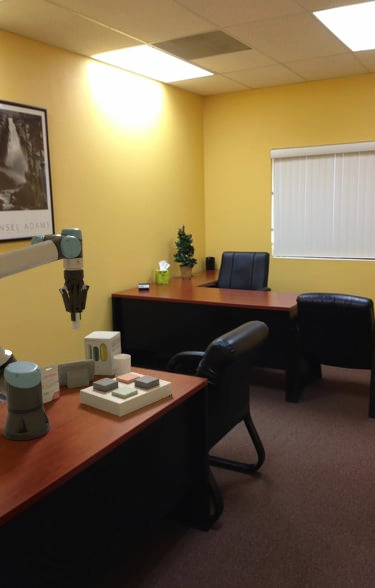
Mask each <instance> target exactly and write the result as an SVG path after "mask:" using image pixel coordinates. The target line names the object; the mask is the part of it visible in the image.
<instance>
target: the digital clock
mask: <svg viewBox="0 0 375 588" xmlns="http://www.w3.org/2000/svg"><path fill="white" fill-rule="evenodd" d="M57 370H58V380H59V386H67V388H68V389H74V388H81V387H87V386H90V382H92V381H93V382H94V380H95V360H93V359H90V360H85V359H83V360H76V361H69V362H61V363H59V364H57Z"/></svg>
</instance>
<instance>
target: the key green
mask: <svg viewBox="0 0 375 588" xmlns="http://www.w3.org/2000/svg"><path fill="white" fill-rule="evenodd" d="M135 394H138V390H136V389H133V388H130V387H126V386H124V387H122V388H119V389H116V390H114V391H112V395H114V396H117V397H120V398H123V399H125V398H128V397H130V396H133V395H135Z"/></svg>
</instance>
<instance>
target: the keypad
mask: <svg viewBox="0 0 375 588" xmlns="http://www.w3.org/2000/svg"><path fill="white" fill-rule="evenodd" d="M130 374H134V375H138V376H140V377H143V376H146V375H144V374H141V373H138V372H134V371H131V372H130ZM112 379H113V380H116V378H115V377H114V378H112ZM124 386H126V387H130V388H133V389H136V390H138V394H135V395H133V396H130V397H128V398H125V399H123V398H120V397H117V396H114V395H112V391H114V390H116V389H119V388H122V387H124ZM116 389H113V390H110V391H108V392H101V391H98V390H95V389H93V385H92V386H89V387H86V388H83V389H80V390H79V395H80V397H79V398H80V403H82V404H84V405H87V406H90V407H92V408H95V409H98V410H101V411H104V412H106V413H110V414H112V415H115V416H118V417H120V418H121V417H123V416H126V415H128V414H130V413H133V412H135V411H137V410H139V409H141V408H144V407H146V406H149V405H150V404H154V403H155V402H157V401H160V400H163V399H165V398H167V397H169V395H170V396H172V395H173V384H172V382H171V381H168V380H164V379H160V378H159V385H158V386H155V387H153V388H150V389H148V390H146V389H143V388H139V387H136V386H135V383H134V382H132V383H129V384H126V383H122V382H119V381H118V388H116ZM171 394H172V395H171ZM162 398H163V399H162Z"/></svg>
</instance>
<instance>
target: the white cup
mask: <svg viewBox="0 0 375 588" xmlns="http://www.w3.org/2000/svg"><path fill="white" fill-rule="evenodd" d="M131 361H132V360H131V355H130V354H127V353H121V354H118V355H115V356H113V365H114V372H115V374H114V378H116V377H118V376H121V375H124V374H127V373H131V372H132V371H131V369H132V366H131V365H132V364H131Z"/></svg>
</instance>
